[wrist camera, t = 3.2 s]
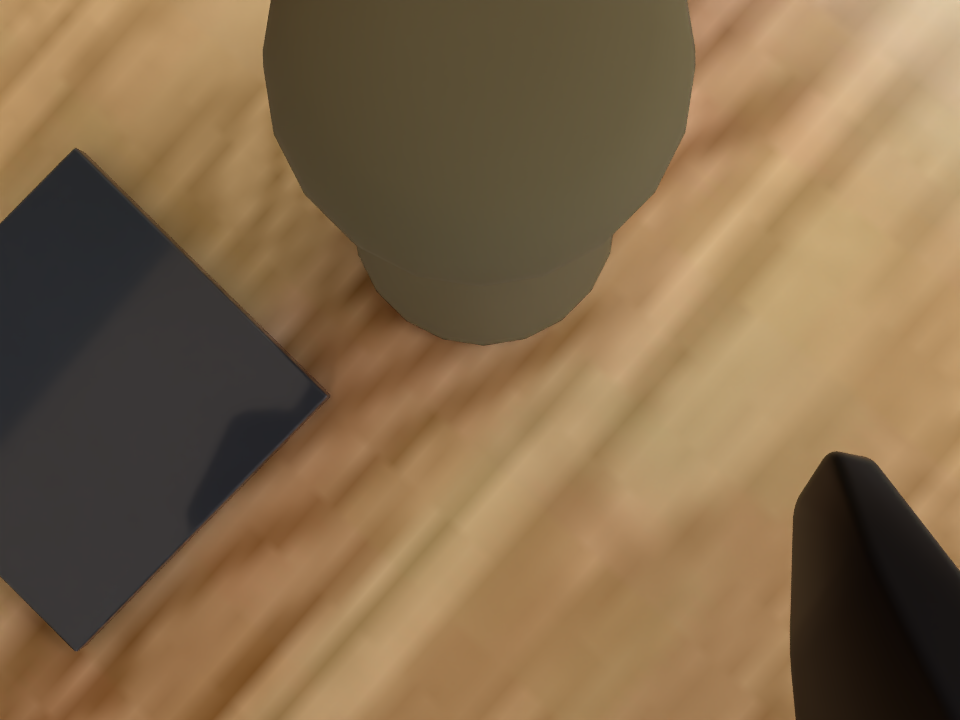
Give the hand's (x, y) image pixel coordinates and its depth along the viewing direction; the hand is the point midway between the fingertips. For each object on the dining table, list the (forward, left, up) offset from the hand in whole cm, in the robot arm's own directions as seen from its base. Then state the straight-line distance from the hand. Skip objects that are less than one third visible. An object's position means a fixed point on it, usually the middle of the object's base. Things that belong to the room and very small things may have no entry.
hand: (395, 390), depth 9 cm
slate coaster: (-7, +4, -11) cm, 14 cm away
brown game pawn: (+3, +3, -11) cm, 12 cm away
